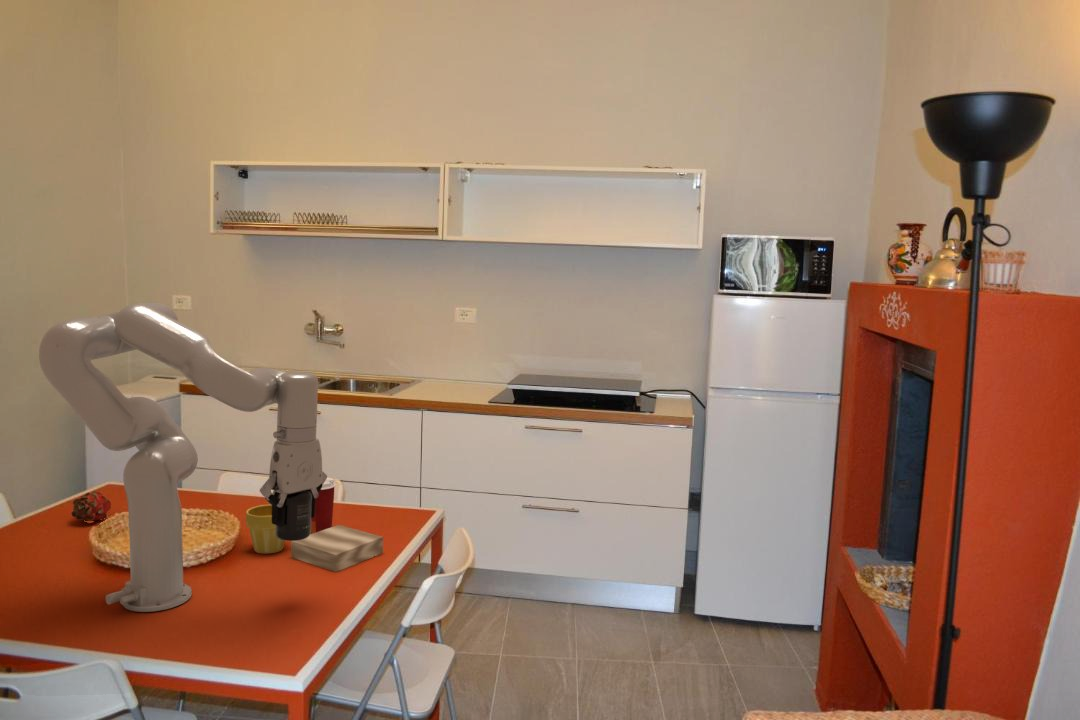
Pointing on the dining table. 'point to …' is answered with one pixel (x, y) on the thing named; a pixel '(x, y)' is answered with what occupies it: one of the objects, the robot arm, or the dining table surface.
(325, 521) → the paper cup
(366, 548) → the beech block
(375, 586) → the dining table surface
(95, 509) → the dragon fruit
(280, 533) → the supplement bottle
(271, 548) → the plant pot
